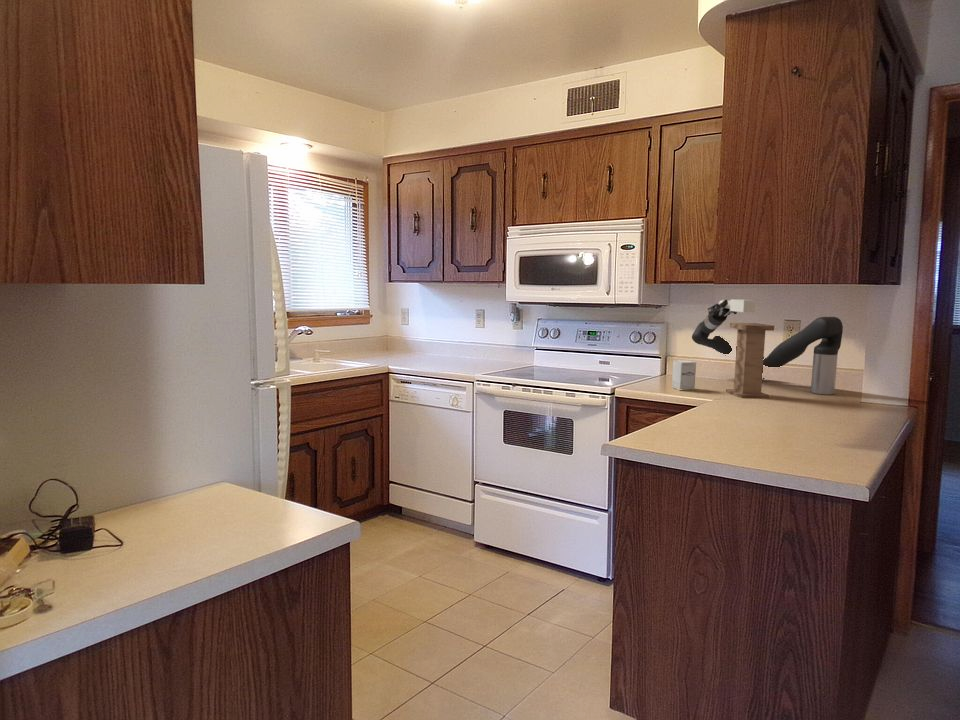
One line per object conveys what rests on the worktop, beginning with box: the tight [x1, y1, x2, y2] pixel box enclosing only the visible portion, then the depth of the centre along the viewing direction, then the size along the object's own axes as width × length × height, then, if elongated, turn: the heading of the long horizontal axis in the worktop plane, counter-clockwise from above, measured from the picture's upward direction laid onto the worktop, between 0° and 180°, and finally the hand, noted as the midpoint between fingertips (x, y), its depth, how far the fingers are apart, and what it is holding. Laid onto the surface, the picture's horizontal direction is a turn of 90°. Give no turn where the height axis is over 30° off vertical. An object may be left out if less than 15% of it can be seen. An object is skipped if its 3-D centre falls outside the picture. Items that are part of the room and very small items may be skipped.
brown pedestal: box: [725, 322, 775, 399], centre depth 274 cm, size 14×12×30 cm
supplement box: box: [671, 359, 697, 389], centre depth 287 cm, size 7×7×13 cm
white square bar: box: [718, 298, 756, 313], centre depth 285 cm, size 25×5×5 cm, turn 5°
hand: (731, 301), depth 289 cm, fingers closed on white square bar, 3 cm apart
